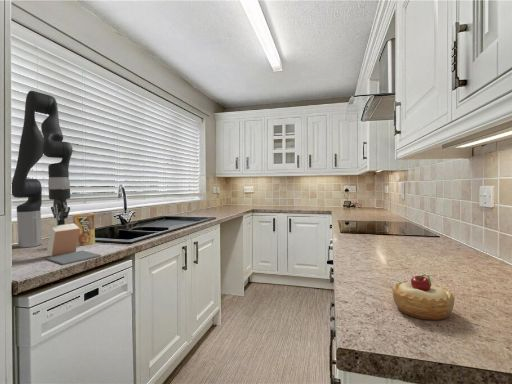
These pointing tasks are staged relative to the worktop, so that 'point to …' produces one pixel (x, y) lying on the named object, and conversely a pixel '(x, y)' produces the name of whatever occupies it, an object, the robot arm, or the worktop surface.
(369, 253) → the worktop surface
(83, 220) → the candy box
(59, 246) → the tan block
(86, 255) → the mat
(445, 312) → the pastry
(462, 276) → the worktop surface
